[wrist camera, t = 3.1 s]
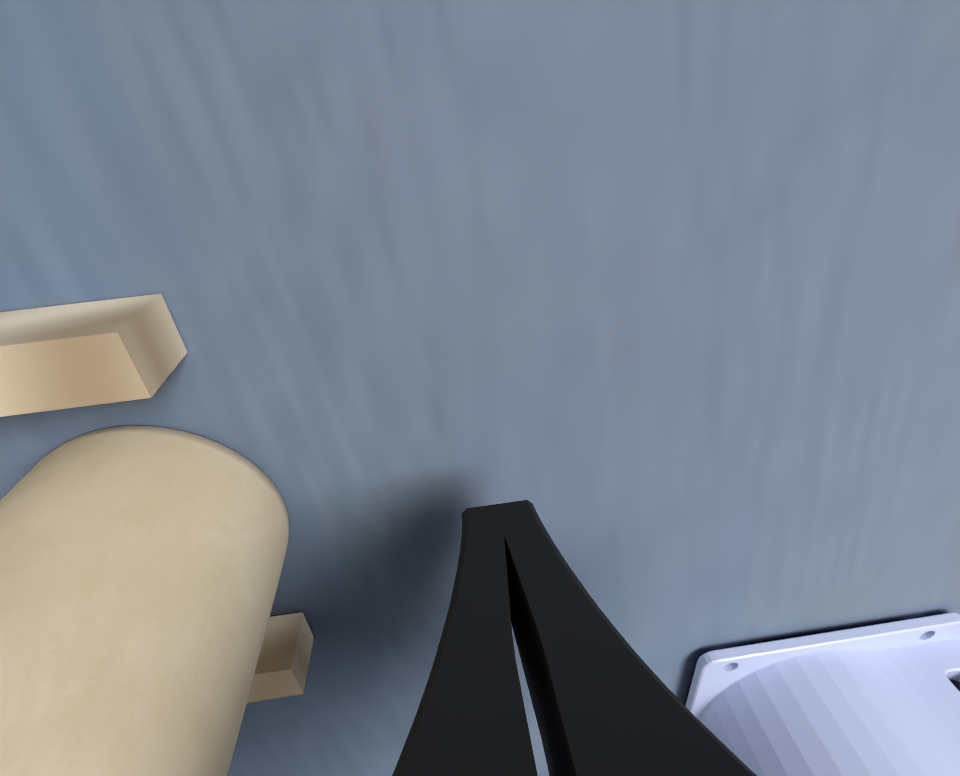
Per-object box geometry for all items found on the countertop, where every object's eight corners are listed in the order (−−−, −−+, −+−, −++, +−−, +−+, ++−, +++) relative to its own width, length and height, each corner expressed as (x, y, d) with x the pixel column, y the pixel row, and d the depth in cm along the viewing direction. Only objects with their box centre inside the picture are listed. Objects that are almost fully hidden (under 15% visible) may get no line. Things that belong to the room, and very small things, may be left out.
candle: (-31, 495, 11) (-1553, 1944, 2) (166, 376, 10) (-1223, 2077, 2) (171, 619, 14) (-220, 1499, 5) (339, 535, 13) (192, 1443, 4)
